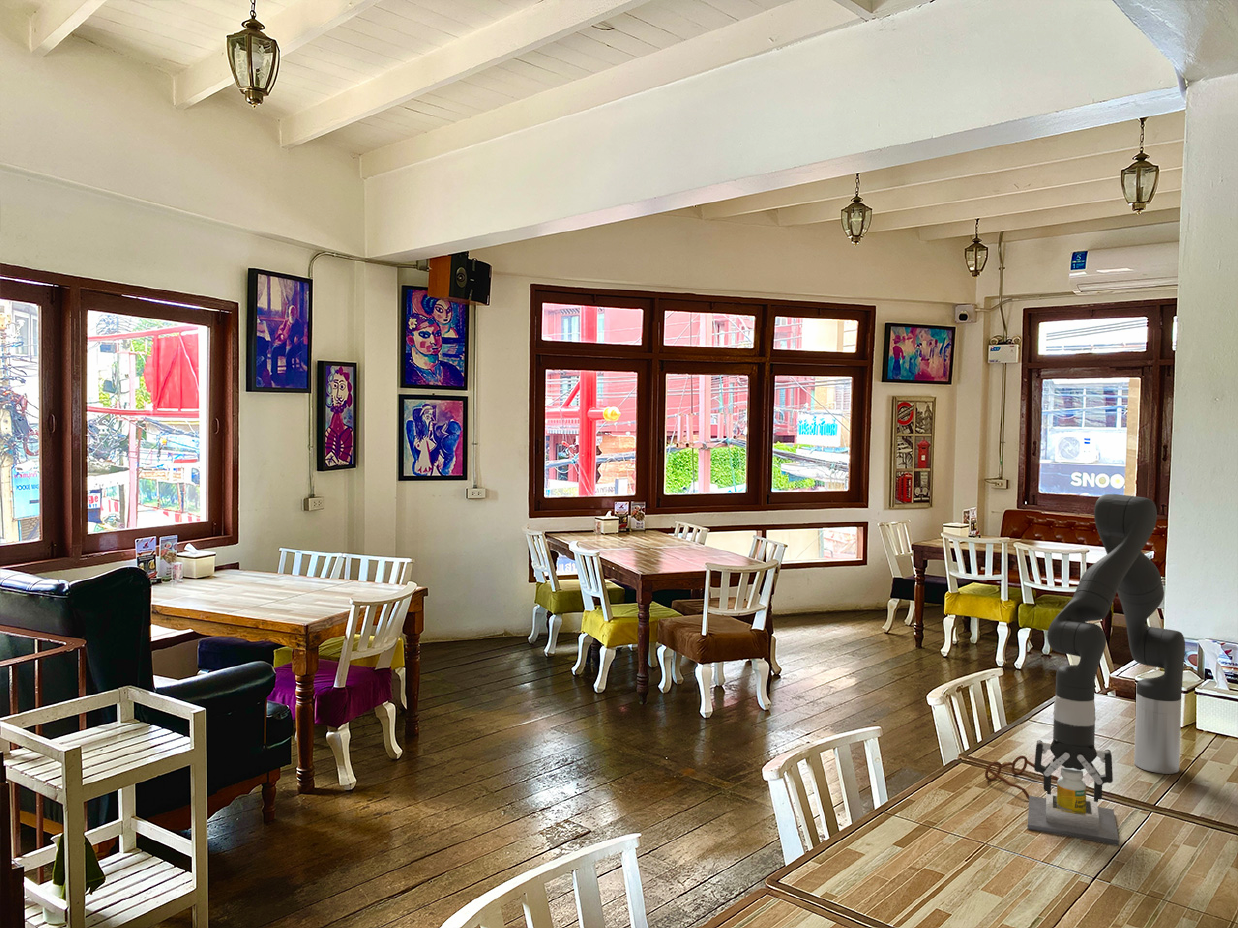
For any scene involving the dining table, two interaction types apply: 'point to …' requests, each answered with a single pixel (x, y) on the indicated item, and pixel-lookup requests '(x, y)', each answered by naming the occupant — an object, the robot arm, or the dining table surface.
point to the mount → (1072, 820)
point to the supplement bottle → (1071, 790)
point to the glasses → (997, 775)
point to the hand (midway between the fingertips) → (1072, 796)
